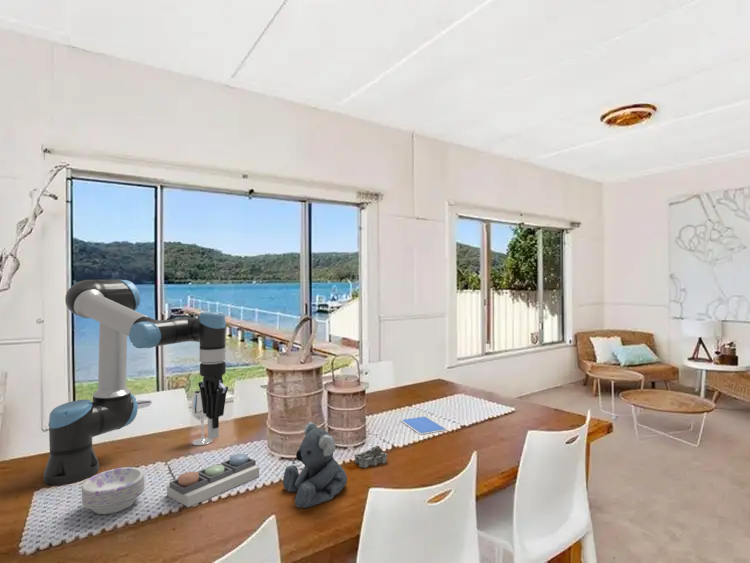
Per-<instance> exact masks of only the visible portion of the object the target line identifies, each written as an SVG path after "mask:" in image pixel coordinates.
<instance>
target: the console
mask: <svg viewBox="0 0 750 563" xmlns="http://www.w3.org/2000/svg"><path fill="white" fill-rule="evenodd" d="M247 458H248V462H247V463H246V464H243V465H240V466H231V465H230V463H229V459H228V460H224V461H222V462H221V463H217V464H216V465H223V466H224V472H223V473H220V474H218V475H215V476H213V477H210V476H208V475H205V469H206V468H204V469H201V470H198V471H197V472H198V473H199V481H198V482H197V483H195V484H193V485H190V486H179V485H178V478H177V479H174V480H172V481H170V482H169V483H168V484H167V485H166V495H167V496H168V497H170V498H171V499H173V500H175V501H177V502H179V503H180V504H181V505H183V506H185V507H187V508H190V507H192V506H194V505H197V504H199V503H201V502H204V501H205V500H206V501H207V500H208V499H210V498H212V497H215V496H217V495H219V494H222V493H225V492H226V491H228V490H231V489H233V488H235V487H237V486H240V485H242V484H245V483H247V482H249V481H252V480H254V479H257V478H259V477H260V466H258V465H256V464H257V462H256V460H255V459H253V458H250V457H248V456H247Z"/></svg>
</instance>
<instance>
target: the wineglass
mask: <svg viewBox="0 0 750 563" xmlns="http://www.w3.org/2000/svg"><path fill="white" fill-rule="evenodd" d="M190 410H191V415H192V417H193V418H194V419H195V420H197V421H200V424H201V437H200V438H197V439H195V440H193V441H192V445H193V446H205V445H208V444H211V443H213V441H214V439H211V440H210V439H208V437H205V435H204V434H205V432H204V422H205V421H206V420H208V417H207V416H206V413H205V414H204V413H203V408H202V400H201V393H200V389H199V390H196V391H194V392H193V396H192V403H191V409H190Z"/></svg>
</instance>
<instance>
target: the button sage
mask: <svg viewBox="0 0 750 563" xmlns="http://www.w3.org/2000/svg"><path fill="white" fill-rule="evenodd" d="M204 469H205V475H208V476H210V477H213V476H215V475H218V474H220V473H223V472H224V466H223V465H217V464H213V465H210V466H207V467H205V468H204Z"/></svg>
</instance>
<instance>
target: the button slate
mask: <svg viewBox="0 0 750 563" xmlns="http://www.w3.org/2000/svg"><path fill="white" fill-rule="evenodd" d="M247 457H248V454H246V453H236V454H232V455H231V456H229V459H228V460H229V463H230V465H231V466H240V465H243V464H246V463H247V462H248V458H249V457H248V458H247Z"/></svg>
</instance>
